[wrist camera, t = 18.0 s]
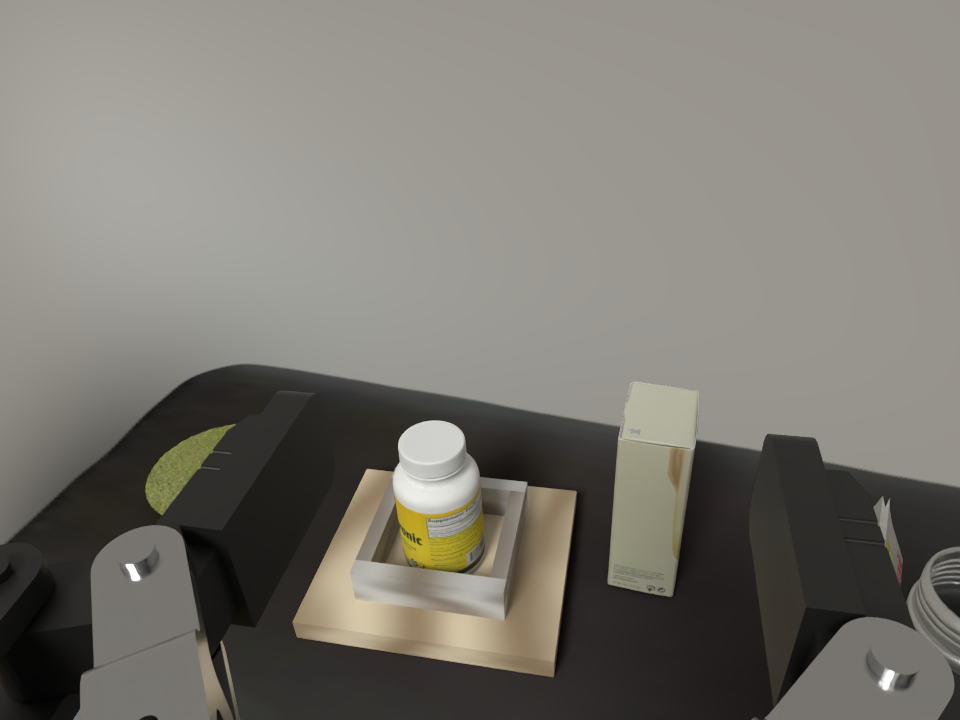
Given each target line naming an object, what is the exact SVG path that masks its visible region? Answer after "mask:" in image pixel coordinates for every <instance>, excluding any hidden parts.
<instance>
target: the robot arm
mask: <svg viewBox="0 0 960 720" xmlns="http://www.w3.org/2000/svg"><path fill="white" fill-rule="evenodd" d="M334 466H335V460H334V452H333V447H332V442H331V437H330V432H329V427H328V422H327V417H326V413H325V408H324V403H323V400H322V398H321V396H320V395H319V394H314V393H303V392H291V391H279V392H277V393H276V394H275V395H274V396H273V398H272V399H271V400H270V402H269V403H268V404H267V406H266V407H265V408H264V410H263V411H262V413H261V414H260V415H252V414H250V415H249V416H248V417H246V418H245V419H243V420H242V421H240V422H239V423H237V424H236V425H235V426H233V427H232V428H230V429H229V430H228V431H227V432H226V433H225V434H224V436H223V437H222V438H221V440H220V441H219V442H218V443H217V445H216V446H215V447H214V449H213V453H210V454H209V455H208V456H207V458H206V459H205V460H204V462H203V463H202V464H201V469H197V471H196V472H195V473H194V475H193V476H192V477H191V478H190V480H189V481H188V482H187V484H186V485H185V486H184V488H183V489H182V490H181V491H180V493H179V494H178V495H177V497H176V498H175V499H174V500H173V502H172V503H171V504H170V506H169V507H168V508H167V510H166V511H165V512H164V513H163V515H162V516H161V517H160V519H159V520H158V521H157V522H156V524H155V525H153V526H145V527H140V528H137V529H134V530H131V531H129V532H126V533H124V534H122V535H120V536H119V537H117V538H116V539H114V540H112V541H111V542H110V543H109V544H107V545H106V546H105V547H104V548H103V549H102V550H101V551H100V553H99V554H98V555H97V557H96V558H92V559H85V560H78V561H71V562H64V563H56V564H49V565H47V564H46V562H45V560H44V558H43V556H42V555H41V553H40V551H39V550H38V549H37V548H36V547H34V546H33V545H30V544H26V543H9V544H4V545H0V720H73V719H74V717H75V716H76V714H77V712H78V711H79V709H80V716H81V720H240V717H239V713H238V708H237V703H236V698H235V694H234V689H233V684H232V680H231V675H230V670H229V666H228V661H227V656H226V652H225V648H224V645H223V642H222V639H223V637H224V635H225V633H226V632H227V630H228V628H229V626H230V625H231V624H233V625H240V626H246V627H253V628H255V626H256V624H257V623H258V621H259V619H260V617H261V615H262V613H263V611H264V610H265V608H266V606H267V604H268V602H269V600H270V598H271V596H272V595H273V593H274V591H275V589H276V587H277V585H278V583H279V581H280V580H281V578H282V576H283V574H284V572H285V570H286V568H287V566H288V565H289V563H290V561H291V559H292V557H293V555H294V553H295V551H296V550H297V548H298V546H299V544H300V542H301V540H302V538H303V536H304V535H305V533H306V531H307V529H308V527H309V525H310V523H311V521H312V520H313V518H314V516H315V514H316V512H317V510H318V508H319V507H320V505H321V503H322V501H323V499H324V497H325V495H326V493H327V492H328V490H329V488H330V485H331V482H332V479H333V474H334ZM749 532H750V541H751V548H752V555H753V563H754V570H755V577H756V584H757V591H758V598H759V606H760V613H761V620H762V627H763V634H764V641H765V648H766V656H767V663H768V670H769V677H770V684H771V691H772V699H773V706H774V709H773V710H772V711H771V712H770V714H769V715H768V716H767V717H765V718H764V719H763V720H960V675H959V674H957V673H956V672H954V671H953V670H951V668H950V666H949V664H948V662H947V660H946V659H945V657H944V656H943V655H942V653H941V652H940V651H939V650H938V649H937V648H936V646H935V645H934V644H933V643H931V642H930V641H929V640H928V639H927V638H925V637H924V636H923V635H921V634H920V633H918V632H917V631H916V629H915V627H914V625H913V622H912V619H911V616H910V613H909V610H908V607H907V604H906V601H905V598H904V596H903V593H902V590H901V587H900V584H899V581H898V578H897V575H896V572H895V569H894V566H893V563H892V560H891V557H890V554H889V552H888V549H887V547H885V540H884V537H883V534H882V531H881V528H880V526H878V519H877V516H876V513H875V511H874V508H873V505H872V502H871V499H870V496H869V494H868V493H867V492H866V491H865V490H864V489H863V488H862V487H861V486H860V484H859V483H858V482H857V481H856V480H855V479H854V478H853V477H852V476H851V475H850V473H849V472H846V471H835V470H825V468H824V464H823V461H822V457H821V454H820V450H819V447H818V444H817V441H816V439H815V438H810V437H798V436H786V435H774V434H767V436H766V437H765V440H764V443H763V448H762V452H761V457H760V461H759V466H758V471H757V475H756V480H755V484H754V489H753V494H752V498H751V504H750V515H749ZM751 720H762V719H761V718H760V717H754V718H753V719H751Z"/></svg>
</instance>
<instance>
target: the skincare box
mask: <svg viewBox="0 0 960 720" xmlns="http://www.w3.org/2000/svg"><path fill="white" fill-rule="evenodd" d="M698 417H699V391H697V390H690V389H683V388H676V387H669V386H662V385H655V384H648V383H640V382H632V383H631V384H630V387H629V392H628V395H627V400H626V404H625V409H624V413H623V418H622V423H621V428H620V433H619V437H618V448H617V461H616V474H615V487H614V503H613V517H612V529H611V544H610V557H609V571H608V584H609V585H614V586H618V587H623V588H627V589H631V590H636V591H641V592H646V593H651V594H656V595H662V596H668V597H672V596H673V593H674V587H675V581H676V574H677V568H678V560H679V553H680V546H681V539H682V532H683V525H684V519H685V512H686V505H687V498H688V491H689V485H690V478H691V471H692V464H693V458H694V451H695V445H696V439H697V430H698Z"/></svg>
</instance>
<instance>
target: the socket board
mask: <svg viewBox="0 0 960 720" xmlns="http://www.w3.org/2000/svg"><path fill="white" fill-rule="evenodd" d="M395 469H396V468H395ZM394 472H395V471H394ZM394 472H390V471H381V470H371V469H367V470H366V472H365V474H364V476H363V479H362V481H361V483H360V485H359V487H358V489H357V491H356V493H355V495H354V497H353V499H352V501H351V503H350V505H349V507H348V509H347V511H346V513H345V515H344V518H343V520H342V522H341V524H340V526H339V528H338V530H337V532H336V534H335V536H334V538H333V540H332V542H331V544H330V546H329V548H328V550H327V552H326V554H325V556H324V559H323V561H322V563H321V565H320V567H319V569H318V571H317V573H316V575H315V577H314V579H313V581H312V583H311V585H310V587H309V589H308V591H307V593H306V595H305V598H304V600H303V602H302V604H301V606H300V608H299V610H298V612H297V614H296V616H295V618H294V620H293V625H294V629H295V632H296V635H297V637H298V638H304V639H311V640H317V641H323V642H330V643H336V644H343V645H349V646H356V647H362V648H369V649H375V650H381V651H388V652H394V653H401V654H407V655H414V656H420V657H427V658H433V659H439V660H446V661H452V662H459V663H465V664H472V665H478V666H485V667H491V668H497V669H504V670H510V671H517V672H523V673H530V674H536V675H543V676H549V677H554V673H555V666H556V658H557V650H558V642H559V635H560V627H561V619H562V611H563V603H564V596H565V588H566V580H567V572H568V565H569V557H570V549H571V541H572V534H573V526H574V518H575V510H576V493H577V491H570V490H560V489H551V488H542V487H532V486H527V482H522V481H512V480H503V479H493V478H484V477H480V481H481V496H482V511H483V522H484V535H485V553H484V557H483V559H482V561H481V563H480V565H479V566H478V567H477V569H476V570H475V571H474V572H472V573H471V574H470V575H469V574H461V573H453V572H446V571H438V570H430V569H423V568H415V567H409V566H408V565H407V562H406V560H405V556H404V551H403V545H402V538H401V533H400V527H399V521H398V515H397V508H396V503H395V497H394V491H393V475H394Z"/></svg>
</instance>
